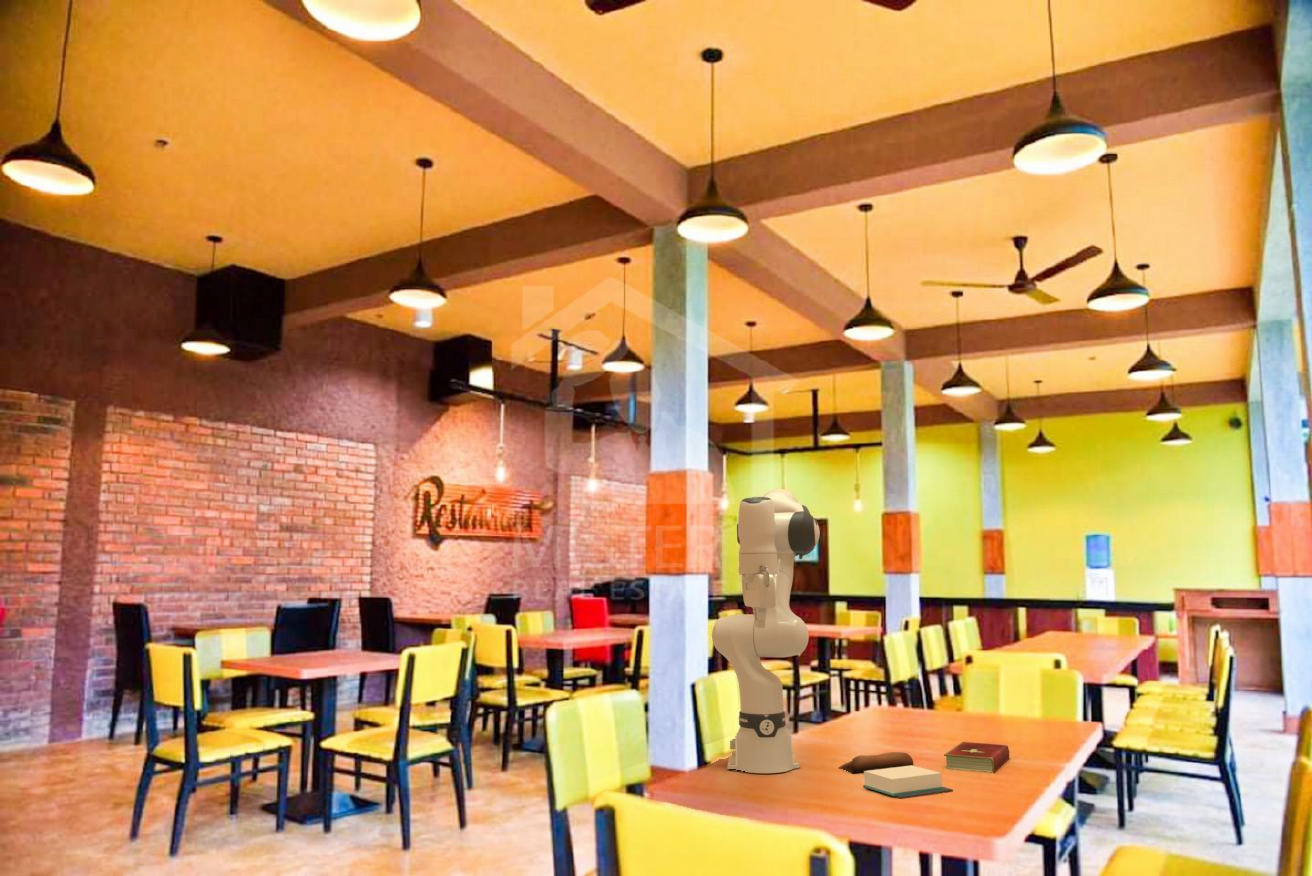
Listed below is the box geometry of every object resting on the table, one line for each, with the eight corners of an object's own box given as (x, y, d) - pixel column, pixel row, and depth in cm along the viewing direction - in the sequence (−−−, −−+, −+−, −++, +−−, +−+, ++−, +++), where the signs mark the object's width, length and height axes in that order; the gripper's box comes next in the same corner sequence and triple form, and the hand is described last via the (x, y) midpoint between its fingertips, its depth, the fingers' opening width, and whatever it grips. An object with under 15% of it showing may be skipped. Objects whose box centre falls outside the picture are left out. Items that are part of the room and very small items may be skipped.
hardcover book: (1009, 760, 241) (1008, 744, 242) (994, 775, 223) (993, 757, 224) (963, 756, 247) (962, 740, 248) (944, 770, 229) (943, 753, 230)
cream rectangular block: (892, 779, 200) (941, 773, 206) (863, 771, 209) (911, 765, 215) (892, 796, 199) (942, 789, 205) (864, 787, 208) (912, 780, 214)
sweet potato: (894, 762, 238) (901, 741, 236) (909, 781, 232) (916, 760, 230) (835, 768, 232) (841, 747, 230) (848, 787, 226) (854, 766, 224)
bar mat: (900, 798, 198) (900, 796, 198) (863, 787, 210) (863, 785, 210) (953, 791, 204) (952, 789, 204) (914, 780, 216) (914, 778, 216)
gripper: (781, 565, 198) (783, 629, 196) (763, 567, 218) (765, 625, 216) (753, 565, 198) (755, 630, 196) (737, 567, 218) (739, 626, 216)
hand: (760, 627), depth 206 cm, fingers closed
